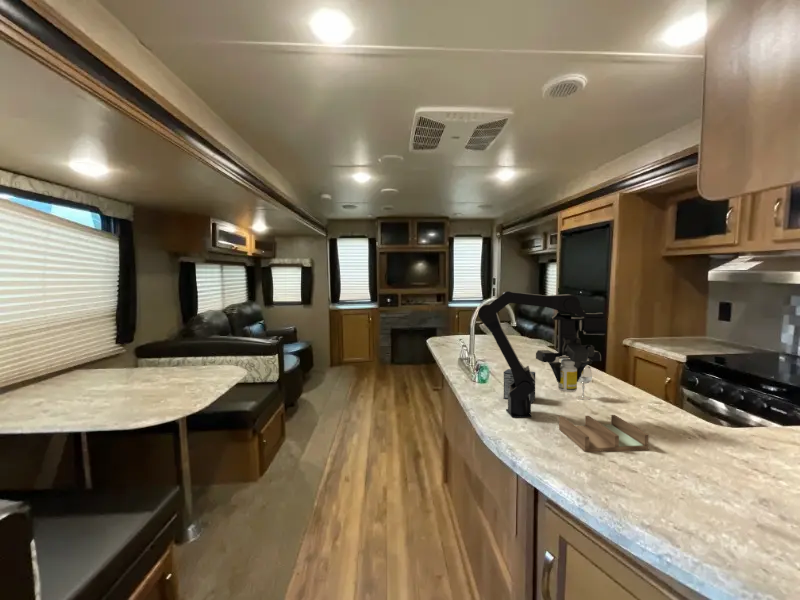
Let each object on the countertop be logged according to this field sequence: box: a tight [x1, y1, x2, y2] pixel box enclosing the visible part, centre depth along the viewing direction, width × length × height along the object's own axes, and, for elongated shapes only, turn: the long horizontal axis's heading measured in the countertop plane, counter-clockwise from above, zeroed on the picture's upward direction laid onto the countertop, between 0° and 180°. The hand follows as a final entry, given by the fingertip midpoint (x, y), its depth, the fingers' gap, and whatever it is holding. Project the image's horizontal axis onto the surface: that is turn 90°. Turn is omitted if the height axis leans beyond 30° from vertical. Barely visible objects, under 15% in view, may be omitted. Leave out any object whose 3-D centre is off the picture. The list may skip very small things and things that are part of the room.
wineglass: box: [576, 365, 593, 401], centre depth 135 cm, size 6×6×12 cm
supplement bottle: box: [557, 358, 578, 393], centre depth 115 cm, size 5×5×10 cm
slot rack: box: [558, 414, 650, 453], centre depth 101 cm, size 17×14×4 cm
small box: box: [502, 368, 536, 404], centre depth 135 cm, size 11×6×10 cm, turn 57°
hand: (567, 382), depth 115 cm, fingers closed on supplement bottle, 5 cm apart
